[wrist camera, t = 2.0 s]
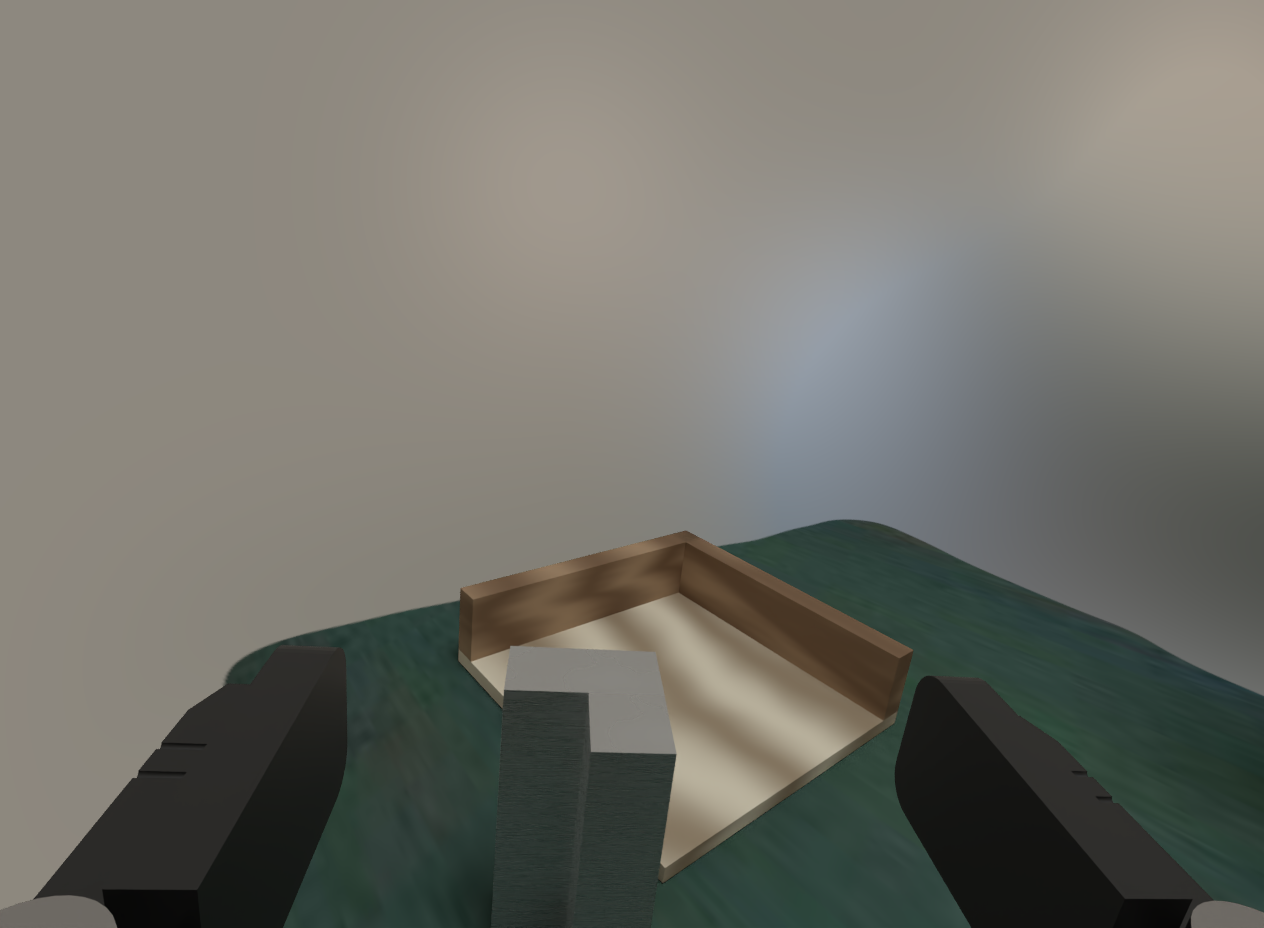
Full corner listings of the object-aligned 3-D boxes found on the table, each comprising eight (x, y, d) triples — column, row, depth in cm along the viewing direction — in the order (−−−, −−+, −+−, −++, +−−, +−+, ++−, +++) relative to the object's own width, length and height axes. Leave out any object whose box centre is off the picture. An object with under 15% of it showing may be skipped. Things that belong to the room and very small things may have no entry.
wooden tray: (678, 588, 52) (686, 530, 51) (894, 722, 39) (913, 650, 38) (458, 660, 41) (460, 588, 39) (662, 883, 28) (677, 787, 26)
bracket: (624, 891, 27) (655, 651, 24) (635, 1029, 23) (676, 754, 19) (496, 891, 27) (510, 645, 23) (480, 1032, 22) (495, 749, 19)
